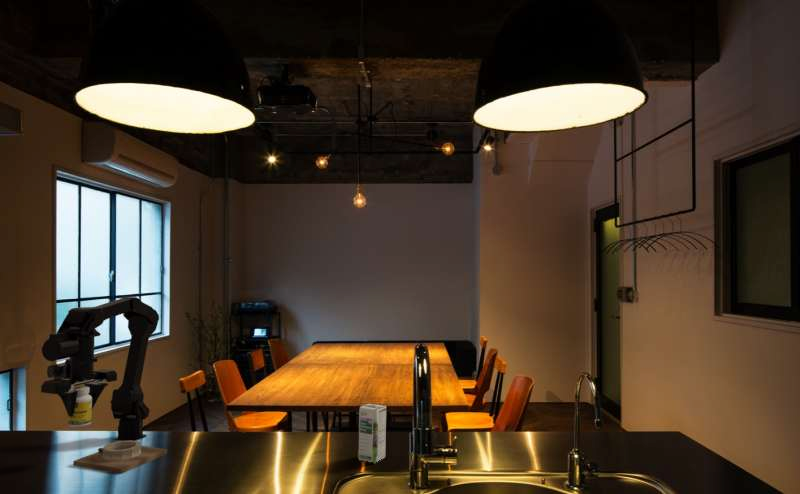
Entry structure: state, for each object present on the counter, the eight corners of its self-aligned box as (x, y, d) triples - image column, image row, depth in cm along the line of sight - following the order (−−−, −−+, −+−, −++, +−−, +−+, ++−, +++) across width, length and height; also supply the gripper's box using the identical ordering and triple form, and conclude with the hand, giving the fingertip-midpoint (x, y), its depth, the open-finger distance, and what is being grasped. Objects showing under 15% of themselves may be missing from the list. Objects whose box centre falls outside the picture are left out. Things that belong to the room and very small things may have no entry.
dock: (121, 447, 159) (122, 434, 159) (166, 453, 154) (167, 440, 154) (72, 465, 144) (73, 451, 144) (120, 473, 139) (121, 458, 139)
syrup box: (357, 460, 151) (358, 406, 151) (368, 454, 156) (369, 402, 156) (375, 464, 148) (376, 409, 148) (386, 457, 153) (386, 405, 154)
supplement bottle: (65, 428, 144) (66, 390, 144) (71, 422, 149) (73, 386, 149) (87, 427, 145) (89, 389, 146) (93, 421, 150) (95, 385, 151)
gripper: (90, 348, 159) (88, 402, 159) (26, 358, 142) (24, 419, 141) (119, 350, 155) (117, 406, 155) (58, 361, 138) (56, 424, 137)
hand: (80, 413), depth 147 cm, fingers closed on supplement bottle, 5 cm apart
